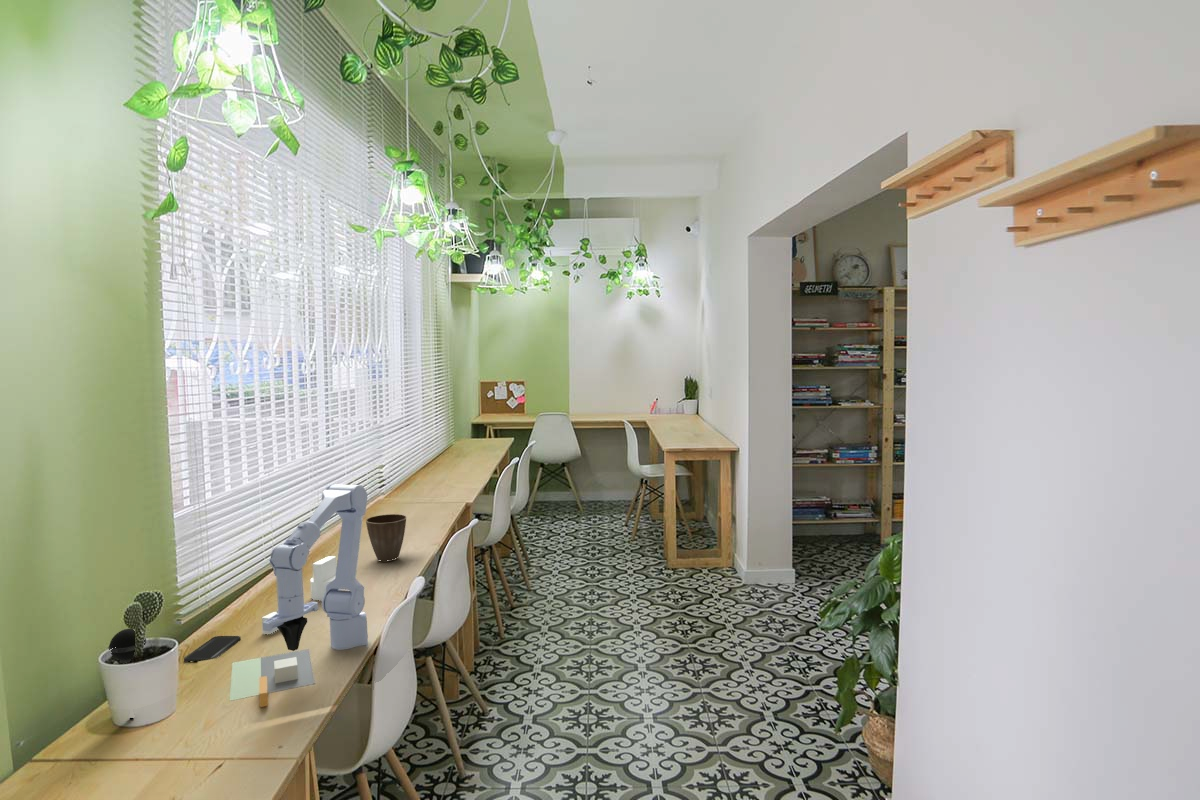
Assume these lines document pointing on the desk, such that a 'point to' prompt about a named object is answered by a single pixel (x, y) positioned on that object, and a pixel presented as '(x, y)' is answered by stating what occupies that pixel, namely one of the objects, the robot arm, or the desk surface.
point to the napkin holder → (267, 619)
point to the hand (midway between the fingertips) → (293, 649)
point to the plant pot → (386, 535)
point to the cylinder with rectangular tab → (322, 576)
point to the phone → (212, 648)
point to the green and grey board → (268, 674)
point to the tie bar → (263, 691)
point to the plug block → (286, 670)
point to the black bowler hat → (123, 645)
